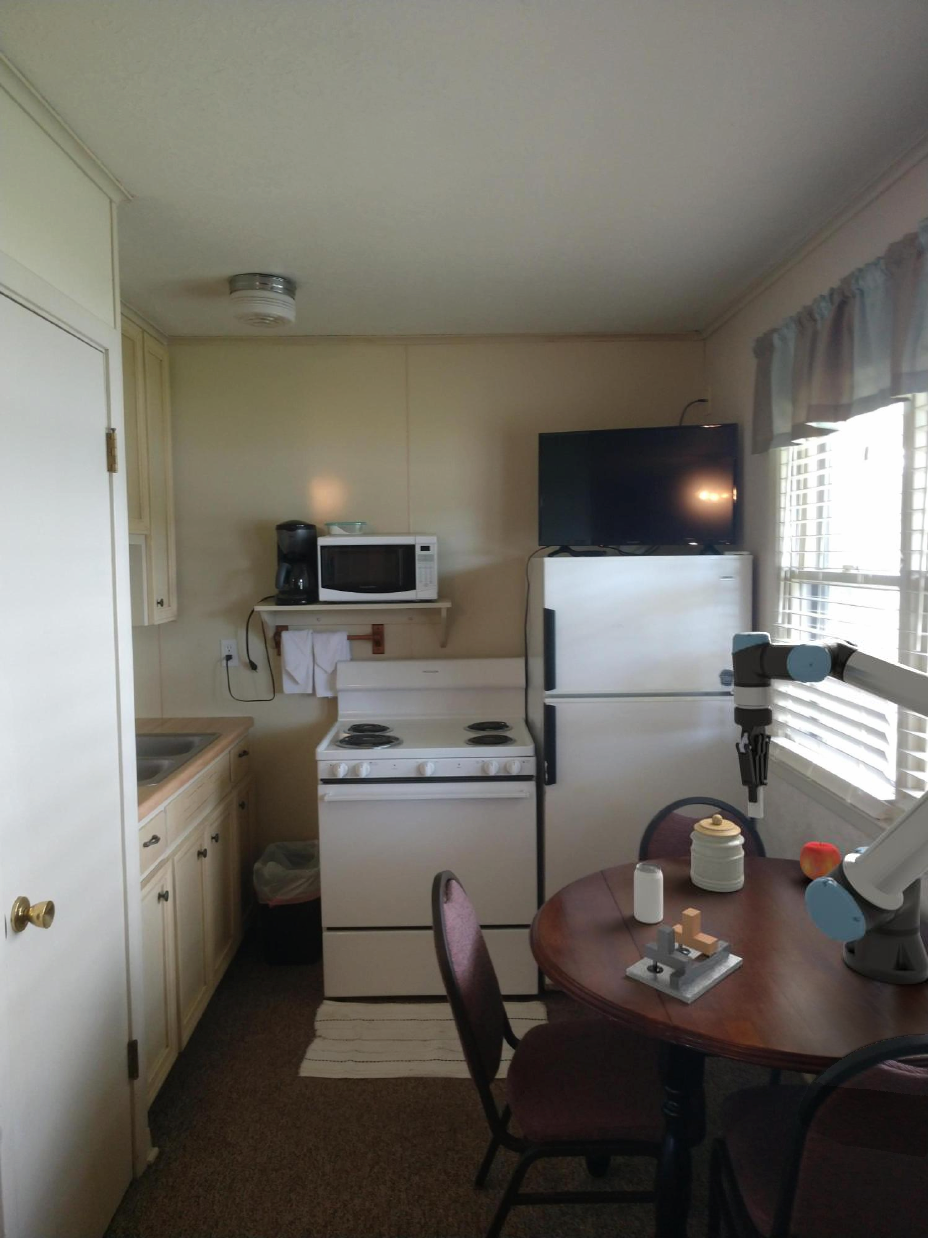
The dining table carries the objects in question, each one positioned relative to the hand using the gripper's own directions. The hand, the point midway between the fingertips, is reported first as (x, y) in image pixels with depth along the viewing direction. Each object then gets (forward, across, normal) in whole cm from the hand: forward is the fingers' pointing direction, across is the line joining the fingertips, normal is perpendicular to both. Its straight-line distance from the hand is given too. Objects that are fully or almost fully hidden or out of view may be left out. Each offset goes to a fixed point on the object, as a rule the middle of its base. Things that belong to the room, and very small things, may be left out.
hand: (755, 816), depth 161 cm
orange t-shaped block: (+26, +16, -7) cm, 31 cm away
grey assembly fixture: (+28, +19, -7) cm, 34 cm away
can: (+27, +4, -24) cm, 36 cm away
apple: (+28, -42, -2) cm, 51 cm away
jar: (+27, -25, -21) cm, 42 cm away
